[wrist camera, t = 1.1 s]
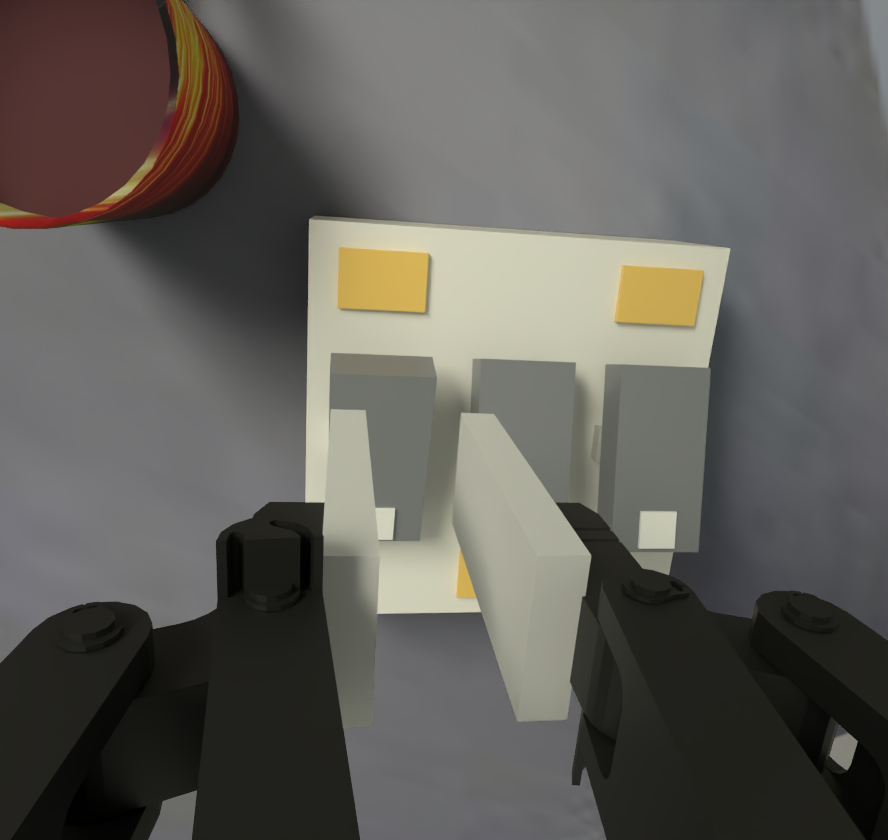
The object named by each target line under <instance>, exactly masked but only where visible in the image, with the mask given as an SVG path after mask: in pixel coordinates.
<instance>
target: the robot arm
mask: <svg viewBox="0 0 888 840" xmlns="http://www.w3.org/2000/svg"><path fill="white" fill-rule="evenodd" d="M452 525H453V528H454V531H455V534H456V537H457V540H458V543H459V546H460V549H461V552H462V555H463V558H464V561H465V564H466V567H467V570H468V573H469V576H470V579H471V582H472V585H473V589H474V592H475V595H476V598H477V601H478V604H479V607H480V610H481V613H482V616H483V619H484V622H485V625H486V628H487V631H488V634H489V637H490V640H491V643H492V646H493V649H494V652H495V655H496V658H497V661H498V664H499V668H500V671H501V674H502V677H503V680H504V683H505V686H506V689H507V692H508V695H509V698H510V701H511V704H512V707H513V710H514V713H515V716H516V719H517V722H520V721H545V720H567V715H568V709H569V702H570V695H571V689H572V687H573V690H574V692H575V694H576V696H577V698H578V700H579V702H580V705H581V707H582V711H581V718H580V724H579V731H578V737H577V743H576V750H575V756H574V762H573V769H572V785H580V781H581V774H582V770H583V769H584V768H585V767H586V769H587V772H588V776H589V779H590V783H591V786H592V790H593V793H594V797H595V800H596V804H597V807H598V811H599V814H600V818H601V821H602V825H603V828H604V832H605V835H606V839H607V840H888V641H887V640H886V639H885V638H883V637H882V636H880V635H879V634H877V633H876V632H875V631H873V630H872V629H870V628H869V627H867V626H866V625H865V624H863V623H862V622H860V621H859V620H858V619H856V618H855V617H853V616H852V615H850V614H849V613H848V612H846V611H844V610H842V609H840V608H839V607H837V606H835V605H833V604H832V603H830V602H827V601H824V600H821V599H819V598H818V597H816V596H814V595H811V594H807V593H804V592H803V594H802V593H801V592H797V591H773V592H769V593H765V594H762V595H761V596H760V597H759V599H758V600H757V601H756V604H755V609H754V613H753V617H752V619H749V618H743V617H738V616H732V615H726V614H720V613H714V612H710V611H707V610H706V608H705V607H704V606H703V604H702V603H701V601H700V600H699V598H698V597H697V595H696V594H695V593H694V592H693V591H692V590H691V589H690V588H689V587H688V586H687V585H686V584H685V583H683V582H681V581H680V580H677V579H675V578H674V577H672V576H670V575H667V574H664V573H660V572H657V571H654V570H649V569H643V568H642V567H641V566H640V565H639V563H638V562H637V561H636V560H635V558H634V557H633V556H632V555H631V553H630V552H629V551H628V550H627V548H626V547H625V546H624V545H623V543H622V542H619V538H618V537H617V536H616V535H615V533H614V532H613V531H610V527H609V526H608V525H607V523H606V522H605V521H604V520H603V518H602V517H601V516H600V515H599V514H598V513H596V512H594V511H593V510H591V509H589V508H588V507H586V506H584V505H582V504H581V503H560V502H554V500H553V499H552V497H551V496H550V495H549V493H548V492H547V490H546V489H545V487H544V486H543V484H542V483H541V481H540V480H539V479H538V477H537V476H536V474H535V473H534V471H533V470H532V468H531V467H530V465H529V464H528V463H527V461H526V460H525V458H524V457H523V455H522V454H521V452H520V451H519V449H518V448H517V447H516V445H515V444H514V442H513V441H512V439H511V438H510V436H509V435H508V434H507V432H506V431H505V429H504V428H503V426H502V425H501V423H500V422H499V420H498V419H497V418H496V416H495V415H494V414H482V413H461V419H460V431H459V444H458V456H457V468H456V480H455V492H454V505H453V517H452ZM216 558H217V592H218V602H217V609H215V610H213V611H212V612H210V613H209V614H206V615H204V616H202V617H199V618H197V619H195V620H191V621H188V622H184V623H180V624H176V625H171V626H166V627H161V628H156V629H153V627H152V622H151V619H150V617H149V615H148V613H147V612H146V611H144V610H142V609H141V608H139V607H137V606H135V605H132V604H126V603H121V602H93V603H86V605H83V604H82V605H78V606H75V607H72V608H69V609H67V610H65V611H62V612H60V613H58V614H56V615H53V616H51V617H49V618H47V619H46V620H45V621H44V622H42V623H41V624H40V625H38V626H37V627H36V628H34V629H33V630H32V631H31V632H30V633H29V634H28V635H27V636H26V637H25V638H24V639H23V640H22V641H21V642H20V643H19V645H18V646H17V647H16V648H15V649H14V650H13V651H12V652H11V653H10V654H9V655H8V656H7V657H6V658H5V659H4V660H3V661H2V662H1V663H0V840H148V839H149V836H150V834H151V832H152V830H153V828H154V826H155V823H156V821H157V819H158V817H159V815H160V810H161V806H162V801H164V800H167V799H170V798H173V797H177V796H180V795H183V794H186V793H189V792H193V791H196V790H197V797H196V806H195V815H194V825H193V834H192V840H360V836H359V830H358V823H357V816H356V810H355V803H354V797H353V790H352V783H351V777H350V770H349V764H348V757H347V750H346V744H345V737H344V731H343V729H344V728H370V727H372V710H373V690H374V669H375V649H376V628H377V607H378V587H379V566H380V551H379V541H378V531H377V521H376V510H375V500H374V490H373V480H372V470H371V460H370V449H369V439H368V429H367V419H366V410H342V409H331V413H330V429H329V444H328V459H327V474H326V490H325V502H269V503H268V504H266V505H265V506H264V507H263V508H261V509H260V510H259V511H258V512H256V513H255V514H254V516H253V518H251V519H248V520H245V521H242V522H238V523H235V524H233V525H231V526H230V527H228V528H227V529H225V530H224V531H222V532H221V533H220V535H219V537H218V539H217V540H216ZM838 724H839V725H840V726H842V727H843V728H844V729H845V730H846V731H847V732H848V733H849V734H850V735H852V736H853V737H854V738H855V739H856V740H857V741H858V743H857V747H856V750H855V753H854V756H853V760H852V763H851V766H850V767H849V769H848V770H845V769H844V768H843V767H841V766H840V765H838V764H837V763H836V762H835V761H834V760H833V759H832V758H831V757H830V756H829V754H830V751H831V747H832V744H833V741H834V737H835V734H836V730H837V727H838Z"/></svg>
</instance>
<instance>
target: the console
mask: <svg viewBox="0 0 888 840" xmlns="http://www.w3.org/2000/svg"><path fill="white" fill-rule="evenodd" d="M730 249H731V248H724V247H717V246H709V245H702V244H694V243H687V242H679V241H671V240H659V239H645V238H630V237H616V236H602V235H587V234H573V233H559V232H544V231H530V230H516V229H502V228H487V227H473V226H459V225H444V224H430V223H416V222H401V221H387V220H373V219H358V218H344V217H330V216H314V217H312V218H310V219H309V264H308V343H307V423H306V502H325V490H326V474H327V459H328V443H329V390H330V361H331V353H350V354H374V355H399V356H423V357H432V358H433V362H434V366H435V371H436V375H437V383H436V393H435V402H434V411H433V421H432V430H431V440H430V449H429V459H428V468H427V478H426V487H425V496H424V506H423V515H422V525H421V534H420V541H379V551H380V566H379V587H378V607H377V614H389V613H454V612H481V610H480V607H479V604H478V601H477V598H476V595H475V592H474V589H473V585H472V582H471V579H470V576H469V573H468V570H467V567H466V564H465V561H464V558H463V555H462V552H461V549H460V546H459V543H458V540H457V537H456V534H455V531H454V528H453V525H452V517H453V505H454V492H455V480H456V468H457V456H458V444H459V431H460V419H461V413H470V412H471V388H472V364H473V359H503V360H527V361H552V362H576V371H575V390H574V408H573V427H572V446H571V465H570V484H569V503H581V504H582V505H584V506H586V507H588V508H589V509H591V510H593V511H594V512H596V513H597V508H598V491H599V473H600V455H601V437H602V419H603V402H604V384H605V366H606V364H626V365H650V366H675V367H699V368H708V365H709V360H710V355H711V349H712V344H713V339H714V333H715V328H716V323H717V317H718V312H719V307H720V302H721V296H722V291H723V286H724V280H725V275H726V270H727V264H728V259H729V254H730ZM630 553H631V555H632V556H633V557H634V558H635V560H636V561H637V562H638V563H639V565H640V566H641V567H642V568H643V569H649V570H654V571H657V572H660V573H664V574H667V575H669V572H670V567H671V562H672V556H673V552H630Z"/></svg>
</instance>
